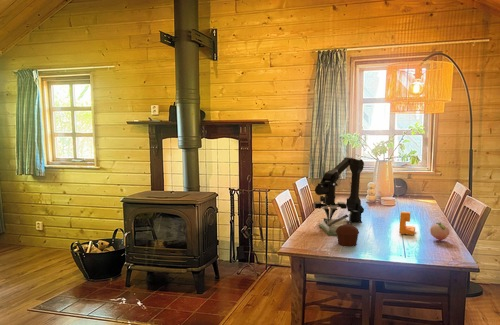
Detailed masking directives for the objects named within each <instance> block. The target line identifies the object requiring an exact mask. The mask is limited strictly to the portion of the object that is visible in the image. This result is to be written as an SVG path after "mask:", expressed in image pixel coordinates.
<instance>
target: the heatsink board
mask: <svg viewBox="0 0 500 325" xmlns="http://www.w3.org/2000/svg"><path fill="white" fill-rule="evenodd" d="M325 219H327V217H324V218H323V220H321V223H318V226H319V227H320V228H321V229H322V230H323V231H324V232H325V233H326V235H328V236H329V237H335V236H336V237H337V233H336V229H337V228H338V227H339V226H341V225H344V224H350V225H353V223H352V222H351V221H349V220H348V219H347V220H348V221H347V220H341V221H339V222H337V223H335V224H332V225H330V226H328V225H327V223H330V222H332V221H334V220H325Z"/></svg>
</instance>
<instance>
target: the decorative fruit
mask: <svg viewBox="0 0 500 325" xmlns="http://www.w3.org/2000/svg"><path fill="white" fill-rule="evenodd" d="M429 230H430V231H429V232H430V235H431V236H432V237H433V238H435V239H437V240H438V241H439V242H440V241H444V240H446V239H447V238H448V237H449V235H450V233H451V232H450V228H448V227H447V226H446V225H444V224H442V222H441V221H439V222H436V223H435V224H432V225H431V227H430V229H429Z"/></svg>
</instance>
